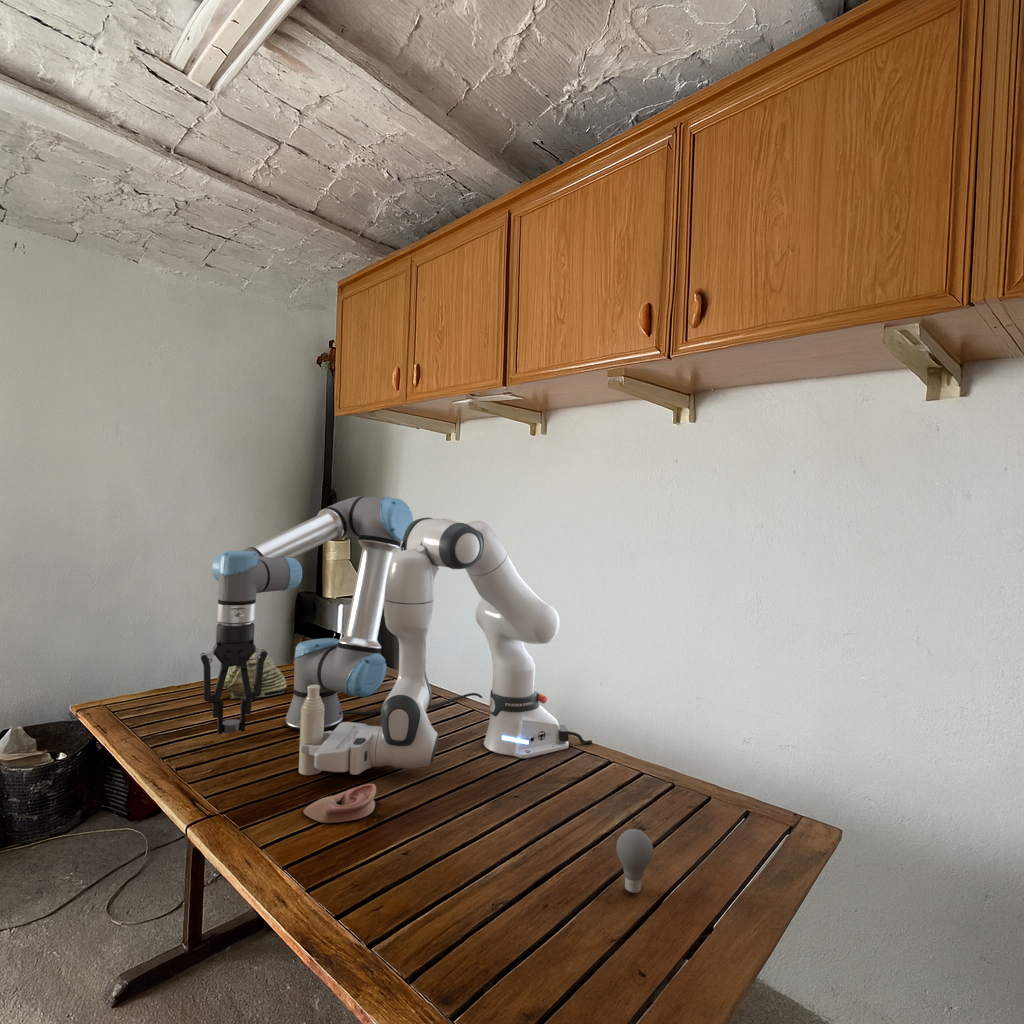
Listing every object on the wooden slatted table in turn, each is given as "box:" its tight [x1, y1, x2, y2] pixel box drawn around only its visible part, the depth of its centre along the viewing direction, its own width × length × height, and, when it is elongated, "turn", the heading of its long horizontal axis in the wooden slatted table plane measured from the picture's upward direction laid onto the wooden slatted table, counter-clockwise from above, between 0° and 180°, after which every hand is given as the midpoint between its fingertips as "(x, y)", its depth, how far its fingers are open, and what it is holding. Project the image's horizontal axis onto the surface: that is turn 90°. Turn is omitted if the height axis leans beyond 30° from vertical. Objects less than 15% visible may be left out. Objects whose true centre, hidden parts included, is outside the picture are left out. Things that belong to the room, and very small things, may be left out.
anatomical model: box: [302, 783, 377, 824], centre depth 128 cm, size 13×4×12 cm
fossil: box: [223, 647, 288, 699], centre depth 198 cm, size 9×18×15 cm, turn 132°
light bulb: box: [615, 828, 654, 894], centre depth 106 cm, size 6×6×10 cm
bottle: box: [298, 685, 325, 776], centre depth 146 cm, size 5×5×20 cm
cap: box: [222, 718, 241, 734], centre depth 137 cm, size 4×4×2 cm
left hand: (231, 730), depth 137 cm, fingers closed on cap, 4 cm apart
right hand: (307, 742), depth 146 cm, fingers closed on bottle, 5 cm apart
